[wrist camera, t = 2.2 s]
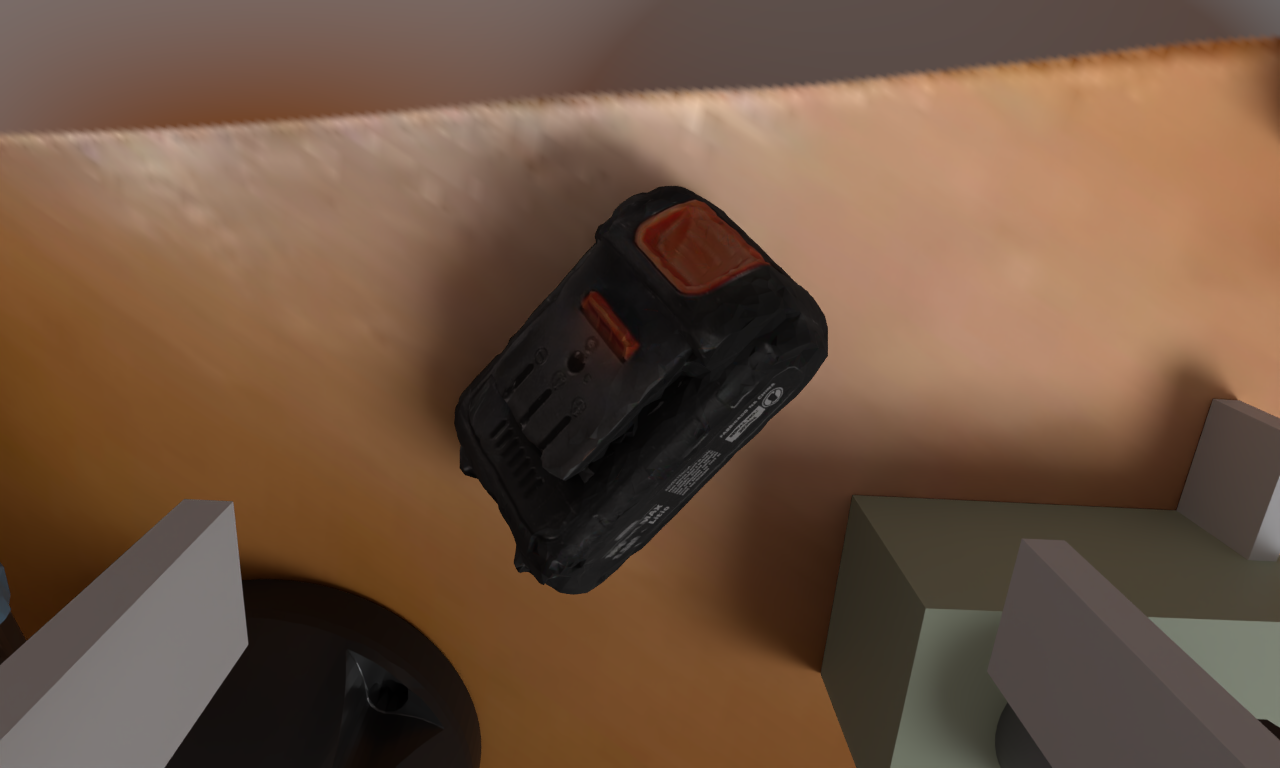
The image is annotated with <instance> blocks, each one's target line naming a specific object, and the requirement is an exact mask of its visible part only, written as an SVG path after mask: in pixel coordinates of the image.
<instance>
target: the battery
mask: <svg viewBox="0 0 1280 768" xmlns="http://www.w3.org/2000/svg"><path fill="white" fill-rule="evenodd" d="M595 239H596V243H595V244H594V245H593V246H592V247H591V248H590V249H589V250H588V251H587V252H586V253H585V255H584V256H583V257H582V258H581V259H580V260H579V262H578V263H577V264H576V265H575V266H574V268H573V269H572V270H571V271H570V272H569V273H568V274H567V275H566V277H565V278H564V279H563V280H562V281H561V283H560V284H559V285H558V286H557V288H556V289H555V290H554V291H553V292H551V294H550V295H549V296H548V297H547V298H546V299H545V300H544V301H543V302H542V303H541V304H540V305H539V306H538V308H537V309H536V310H535V311H534V312H533V313H532V314H531V316H530V317H529V318H528V320H527V321H526V322H525V324H524V325H523V326H522V327H521V328H520V330H519V331H518V332H517V333H516V334H515V335H514V336H513V337H512V338H510V340H509V343H508V345H507V347H506V348H505V349H504V350H503V352H502V353H501V354H499V355H497V356H496V357H495V358H494V359H493V360H492V361H491V362H490V363H489V364H488V366H487V367H486V368H485V369H484V370H483V371H482V372H481V373H480V374H479V375H478V376H477V377H476V378H475V379H474V381H473V382H472V383H471V384H470V385H469V386H468V387H467V388H466V389H465V390H464V392H463V393H462V395H461V396H460V398H459V402H458V404H457V406H456V409H455V421H454V424H455V428H456V432H457V437H458V440H459V442H460V445H461V447H460V469H461V470H462V472H463V473H464V474H465V475H467V476H470V477H473V478H477V479H479V481H480V483H481V484H482V486H483V487H484V489H485V490H487V492H488V493H489V495H490V496H491V497H492V498H493V499H494V500H495V501H496V503H497V504H498V507H499V510H500V512H501V514H502V516H503V518H504V519H505V521H506V522H507V524H508V525H509V527H510V529H511V531H512V534H513V536H514V538H515V542H516V553H515V558H514V565H515V567H516V569H517V571H518V572H520V573H521V572H530V573H531V574H532V575H534V577H535V578H536V579H537V580H538V582H539V583H540V584H543V585H544V584H547V585H549V586H550V587H552V588H554V589H555V590H557V591H558V592H560V593H565V594H581V593H587V592H589V591H590V590H592V589H594V588H595V587H597V586H598V585H599V584H601V583H602V582H604V581H605V580H606V579H607V578H608V577H609V576H610V575H611V574H613V573H614V572H615V571H616V570H617V569H618V568H619V567H620V566H621V565H622V564H623V563H624V562H625V561H626V560H627V559H628V558H629V557H630V556H631V555H633V554H634V553H636V552H637V551H639V550H641V549H642V548H643V547H644V546H645V545H646V544H647V543H648V542H649V541H650V540H651V539H652V538H653V537H654V536H655V535H656V534H657V533H658V532H659V531H660V530H661V529H662V528H663V527H664V526H665V525H666V524H667V523H668V522H669V521H670V520H671V519H672V518H673V517H674V516H675V515H676V514H677V513H678V512H679V511H680V510H681V509H682V508H683V507H684V506H685V505H686V504H687V503H688V502H689V501H690V500H691V499H692V497H693V496H694V495H695V494H696V493H697V492H698V491H699V490H700V489H701V488H702V487H703V486H704V485H705V484H706V483H707V482H708V481H709V480H710V479H711V478H712V477H713V476H714V475H715V474H716V473H717V472H718V471H719V470H720V469H721V468H722V467H723V466H724V465H725V464H726V463H727V462H728V461H729V460H730V459H731V458H732V457H733V456H734V454H735V453H736V452H737V451H739V450H740V449H741V448H742V447H743V446H745V445H746V444H747V443H748V442H749V441H750V440H751V439H752V438H754V437H755V436H756V435H757V434H758V433H759V432H760V431H761V430H762V428H763V427H764V426H765V425H766V424H767V422H768V421H769V420H770V419H771V418H772V417H773V416H775V415H776V414H777V413H778V412H779V411H780V410H781V409H782V408H784V407H785V406H786V405H787V404H788V403H789V402H790V401H792V400H793V399H794V398H795V397H796V396H797V395H798V394H799V393H800V392H801V391H802V389H803V388H804V387H805V386H806V385H807V384H808V383H809V381H810V380H811V379H812V378H813V376H814V375H815V374H816V372H817V371H818V369H819V368H820V366H821V365H822V363H823V362H824V361H825V359H826V358H827V356H828V327H827V323H826V319H825V315H824V314H823V312H822V311H821V309H820V308H819V306H818V304H817V303H816V301H815V300H814V298H813V297H812V296H810V294H809V293H808V292H807V291H806V290H805V289H804V288H803V287H801V286H800V285H798V284H797V283H796V282H795V281H793V279H792V278H791V277H790V276H789V275H788V274H787V273H786V272H785V271H784V270H783V269H782V268H781V267H780V266H778V265H777V264H776V263H775V262H774V261H773V260H772V259H771V258H770V257H769V256H768V255H767V254H766V253H765V252H764V251H763V250H762V249H761V248H760V246H759V245H758V244H756V243H755V242H754V241H753V240H752V239H751V238H750V237H749V236H748V235H747V234H746V233H745V232H744V231H743V230H742V229H741V228H740V227H739V226H738V225H737V224H736V223H734V222H733V221H732V220H731V219H730V218H729V217H728V216H727V215H726V214H725V212H724V211H722V210H721V209H719V208H718V207H716V206H715V205H714V204H712V203H711V202H709V201H707V200H706V199H704V198H702V197H700V196H699V195H697V194H695V193H694V192H692V191H690V190H688V189H686V188H683V187H679V186H664V187H658V188H656V189H654V190H652V191H650V192H648V193H640V194H636V195H633V196H632V197H630V198H628V199H627V200H625V201H624V202H623V203H621V204H620V205H619V206H618V207H617V208H616V209H615V210H614V212H613V215H612V217H611V218H610V219H609V220H607V221H606V222H605V223H604V224H602V225H600V226H599V227H598V229H597V231H596V234H595Z"/></svg>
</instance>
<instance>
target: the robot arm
mask: <svg viewBox="0 0 1280 768" xmlns="http://www.w3.org/2000/svg"><path fill="white" fill-rule="evenodd" d="M10 595H11V594H10V590H9V586H8V582H7V578H6V574H5V570H4V567H3V565H2V564H1V563H0V768H479V766H480V760H481V735H480V727H479V722H478V718H477V714H476V711H475V707H474V704H473V702H472V699H471V697H470V695H469V692H468V690H467V688H466V687H465V685H464V683H463V681H462V679H461V678H460V676H459V675H458V673H457V671H456V670H455V669H454V667H453V666H452V665H451V663H450V662H449V661H448V659H447V658H446V657H445V656H444V655H443V654H442V653H441V651H440V650H439V649H438V648H437V647H436V646H435V645H434V644H433V643H432V642H431V641H430V640H429V639H427V638H426V637H425V636H424V635H423V634H422V633H420V632H419V631H418V630H417V629H415V628H414V627H413V626H411V625H410V624H408V623H407V622H406V621H404V620H403V619H401V618H399V617H398V616H396V615H395V614H393V613H391V612H389V611H388V610H386V609H384V608H382V607H380V606H378V605H376V604H374V603H372V602H370V601H368V600H365V599H363V598H360V597H358V596H355V595H353V594H349V593H346V592H343V591H340V590H337V589H333V588H329V587H326V586H322V585H316V584H311V583H306V582H298V581H290V580H276V579H257V580H241V571H240V561H239V552H238V542H237V533H236V523H235V514H234V504H233V501H212V500H191V499H184V500H183V501H182V502H180V503H179V504H178V505H177V506H176V507H175V508H174V509H173V510H172V511H170V512H169V513H168V514H167V515H166V516H165V517H164V518H163V519H162V520H161V521H159V522H158V523H157V524H156V525H155V526H154V527H153V528H152V529H151V530H149V531H148V532H147V533H146V534H145V535H144V536H143V537H142V538H141V539H139V540H138V541H137V542H136V543H135V544H134V545H133V546H132V547H131V548H129V549H128V550H127V551H126V552H125V553H124V554H123V555H122V556H121V557H119V558H118V559H117V560H116V561H115V562H114V563H113V564H112V565H111V566H109V567H108V568H107V569H106V570H105V571H104V572H103V573H102V574H101V575H100V576H98V577H97V578H96V579H95V580H94V581H93V582H92V583H91V584H90V585H88V586H87V587H86V588H85V589H84V590H83V591H82V592H81V593H80V594H78V595H77V596H76V597H75V598H74V599H73V600H72V601H71V602H70V603H68V604H67V605H66V606H65V607H64V608H63V609H62V610H61V611H60V612H58V613H57V614H56V615H55V616H54V617H53V618H52V619H51V620H50V621H48V622H47V623H46V624H45V625H44V626H43V627H42V628H41V629H40V630H39V631H37V632H36V633H35V634H34V635H33V636H32V637H31V638H30V639H29V640H27V641H26V639H25V637H24V635H23V633H22V632H21V630H20V628H19V626H18V624H17V622H16V620H15V619H14V617H13V615H12V613H11V611H10V610H11V608H10V606H9V601H10ZM987 672H988V674H989V675H990V677H991V678H992V680H993V681H994V683H995V684H996V686H997V687H998V689H999V690H1000V691H1001V693H1002V694H1003V696H1004V697H1005V699H1006V700H1007V702H1008V703H1009V705H1010V706H1011V708H1012V709H1013V711H1014V712H1015V713H1016V715H1017V716H1018V718H1019V719H1020V721H1021V722H1022V724H1023V725H1024V727H1025V728H1026V730H1027V731H1028V733H1029V734H1030V736H1031V737H1032V738H1033V740H1034V741H1035V743H1036V744H1037V746H1038V747H1039V749H1040V750H1041V752H1042V753H1043V755H1044V756H1045V758H1046V759H1047V761H1048V762H1049V763H1050V765H1051V766H1052V768H1280V727H1278V726H1276V725H1275V724H1273V723H1272V722H1270V721H1269V720H1267V719H1256V718H1255V717H1254V716H1253V715H1252V714H1251V713H1250V712H1249V711H1248V710H1247V709H1246V708H1245V707H1243V706H1242V705H1241V704H1240V703H1239V702H1238V701H1237V700H1236V699H1235V698H1234V697H1233V696H1232V695H1231V694H1229V693H1228V692H1227V691H1226V690H1225V689H1224V688H1223V687H1222V686H1221V685H1220V684H1219V683H1218V682H1217V681H1216V680H1214V679H1213V678H1212V677H1211V676H1210V675H1209V674H1208V673H1207V672H1206V671H1205V670H1204V669H1203V668H1202V667H1200V666H1199V665H1198V664H1197V663H1196V662H1195V661H1194V660H1193V659H1192V658H1191V657H1190V656H1189V655H1188V654H1186V653H1185V652H1184V651H1183V650H1182V649H1181V648H1180V647H1179V646H1178V645H1177V644H1176V643H1175V642H1174V641H1173V640H1171V639H1170V638H1169V637H1168V636H1167V635H1166V634H1165V633H1164V632H1163V631H1162V630H1161V629H1160V628H1159V627H1157V626H1156V625H1155V624H1154V623H1153V622H1152V621H1151V620H1150V619H1149V618H1148V617H1147V616H1146V615H1145V614H1143V613H1142V612H1141V611H1140V610H1139V609H1138V608H1137V607H1136V606H1135V605H1134V604H1133V603H1132V602H1131V601H1130V600H1128V599H1127V598H1126V597H1125V596H1124V595H1123V594H1122V593H1121V592H1120V591H1119V590H1118V589H1117V588H1116V587H1114V586H1113V585H1112V584H1111V583H1110V582H1109V581H1108V580H1107V579H1106V578H1105V577H1104V576H1103V575H1102V574H1100V573H1099V572H1098V571H1097V570H1096V569H1095V568H1094V567H1093V566H1092V565H1091V564H1090V563H1089V562H1088V561H1087V560H1085V559H1084V558H1083V557H1082V556H1081V555H1080V554H1079V553H1078V552H1077V551H1076V550H1075V549H1074V548H1073V547H1071V546H1070V545H1069V544H1068V543H1067V542H1066V541H1065V540H1045V539H1023V538H1022V540H1021V543H1020V547H1019V551H1018V555H1017V559H1016V562H1015V566H1014V570H1013V574H1012V578H1011V581H1010V585H1009V589H1008V593H1007V597H1006V601H1005V604H1004V608H1003V612H1002V616H1001V620H1000V623H999V627H998V631H997V635H996V639H995V642H994V646H993V650H992V654H991V658H990V662H989V665H988V669H987Z"/></svg>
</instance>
